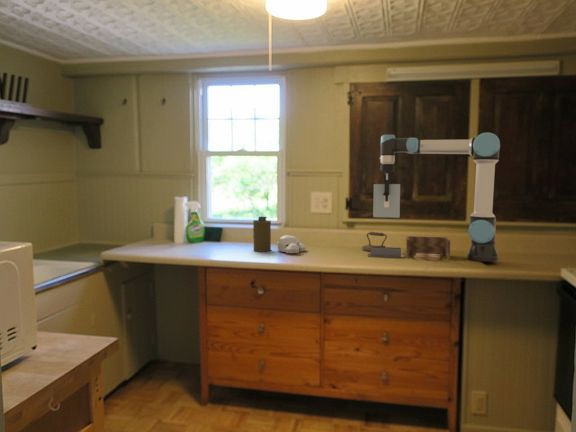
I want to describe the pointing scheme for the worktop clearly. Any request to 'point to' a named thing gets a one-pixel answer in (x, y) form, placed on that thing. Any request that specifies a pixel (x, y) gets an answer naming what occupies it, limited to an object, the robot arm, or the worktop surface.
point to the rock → (290, 244)
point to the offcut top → (427, 255)
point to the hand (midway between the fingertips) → (386, 207)
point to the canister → (262, 234)
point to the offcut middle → (426, 258)
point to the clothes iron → (368, 247)
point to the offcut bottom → (428, 259)
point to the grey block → (386, 252)
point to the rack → (428, 246)
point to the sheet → (394, 201)
